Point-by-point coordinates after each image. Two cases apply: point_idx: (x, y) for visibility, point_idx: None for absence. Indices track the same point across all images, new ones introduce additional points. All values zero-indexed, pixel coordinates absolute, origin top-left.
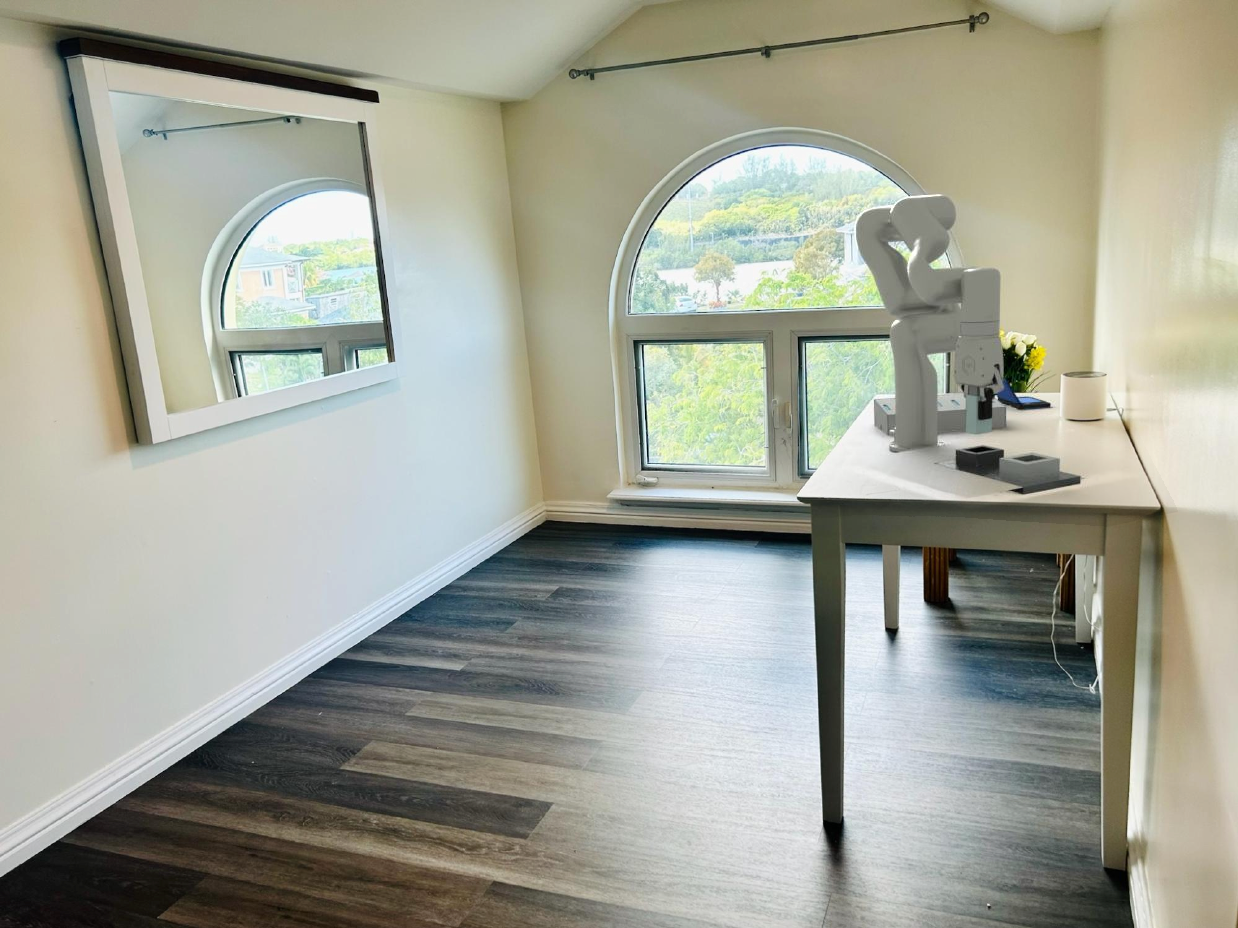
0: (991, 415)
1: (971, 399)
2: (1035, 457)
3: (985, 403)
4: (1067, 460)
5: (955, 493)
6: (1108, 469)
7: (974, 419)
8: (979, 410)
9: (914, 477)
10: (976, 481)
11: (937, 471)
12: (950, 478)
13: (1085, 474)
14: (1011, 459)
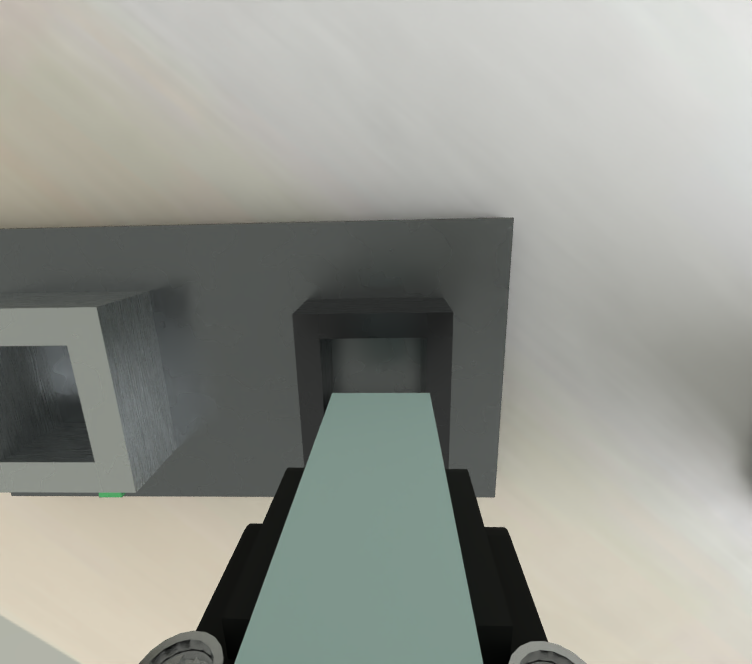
0: None
1: (357, 611)
2: (78, 456)
3: (199, 630)
4: None
5: (87, 3)
6: None
7: (334, 449)
8: (265, 522)
9: (451, 46)
10: None
11: None
12: (335, 177)
13: (137, 566)
14: (45, 332)
